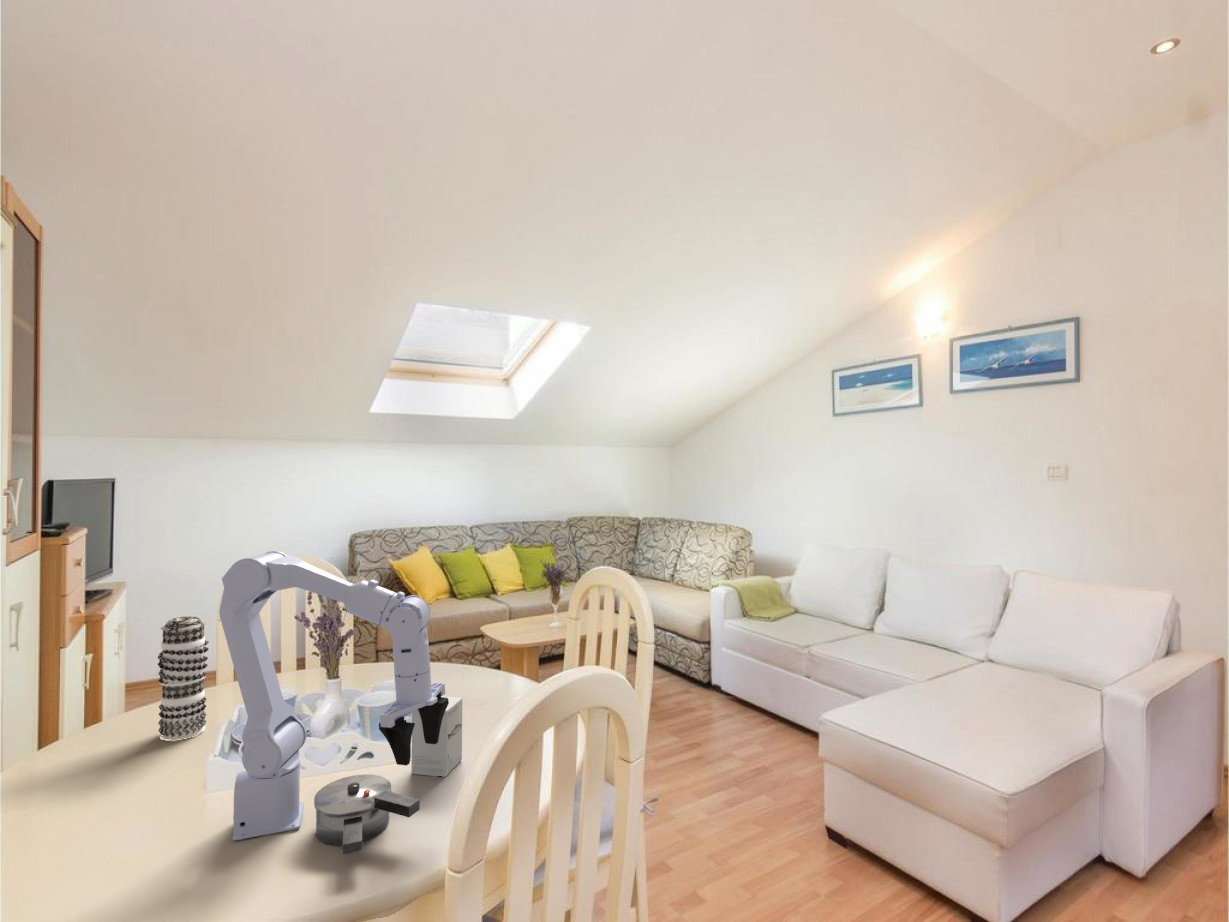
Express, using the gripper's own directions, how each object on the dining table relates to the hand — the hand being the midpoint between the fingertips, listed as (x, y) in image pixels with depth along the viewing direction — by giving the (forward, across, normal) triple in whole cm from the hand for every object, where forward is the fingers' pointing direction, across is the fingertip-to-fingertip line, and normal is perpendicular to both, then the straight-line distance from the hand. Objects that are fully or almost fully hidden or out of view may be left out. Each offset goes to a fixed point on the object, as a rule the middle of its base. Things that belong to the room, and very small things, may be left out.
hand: (417, 753), depth 106 cm
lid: (+6, -6, +6) cm, 10 cm away
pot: (+10, -8, +7) cm, 15 cm away
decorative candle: (+7, +11, +70) cm, 71 cm away
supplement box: (+11, +16, +9) cm, 22 cm away
